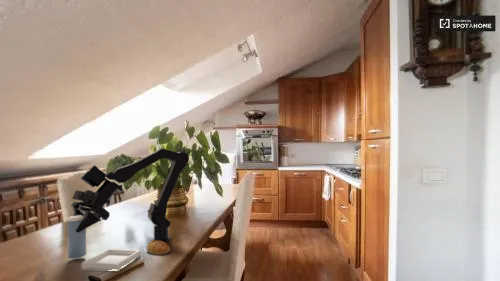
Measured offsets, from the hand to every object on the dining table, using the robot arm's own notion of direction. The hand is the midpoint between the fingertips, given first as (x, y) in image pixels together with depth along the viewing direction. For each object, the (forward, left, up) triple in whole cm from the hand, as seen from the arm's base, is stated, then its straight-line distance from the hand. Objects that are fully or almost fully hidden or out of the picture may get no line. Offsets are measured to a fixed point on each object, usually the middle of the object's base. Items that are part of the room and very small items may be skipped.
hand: (72, 230), depth 102 cm
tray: (0, +16, -11) cm, 19 cm away
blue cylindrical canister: (-1, +1, -9) cm, 9 cm away
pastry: (-13, +26, -11) cm, 31 cm away
